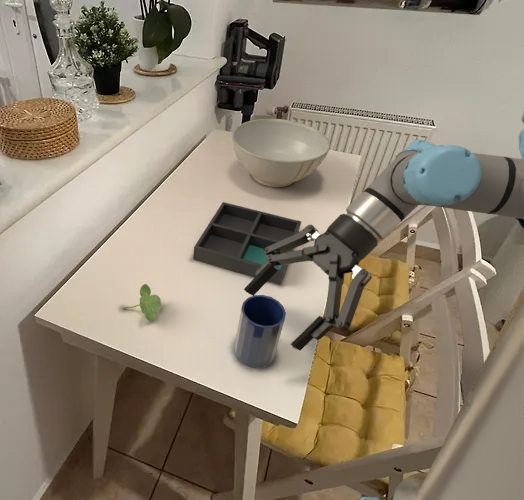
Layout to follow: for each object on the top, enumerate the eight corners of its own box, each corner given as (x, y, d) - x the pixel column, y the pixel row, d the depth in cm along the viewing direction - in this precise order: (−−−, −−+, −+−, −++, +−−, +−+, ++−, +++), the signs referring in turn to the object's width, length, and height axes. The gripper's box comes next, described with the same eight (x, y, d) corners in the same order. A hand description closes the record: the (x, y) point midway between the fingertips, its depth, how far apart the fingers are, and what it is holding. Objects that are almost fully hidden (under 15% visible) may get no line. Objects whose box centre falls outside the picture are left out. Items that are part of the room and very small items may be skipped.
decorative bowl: (327, 204, 116) (338, 164, 108) (227, 197, 117) (232, 157, 110) (312, 157, 136) (321, 121, 128) (228, 152, 138) (232, 115, 130)
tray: (280, 285, 92) (283, 273, 89) (193, 259, 98) (193, 247, 95) (298, 233, 106) (301, 221, 103) (221, 213, 112) (222, 201, 109)
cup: (282, 359, 77) (294, 318, 70) (248, 373, 75) (258, 333, 68) (259, 330, 82) (268, 290, 75) (227, 343, 79) (233, 302, 72)
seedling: (139, 325, 89) (165, 318, 86) (115, 328, 82) (143, 321, 79) (132, 291, 90) (158, 283, 87) (108, 292, 83) (135, 283, 80)
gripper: (431, 282, 64) (328, 378, 68) (318, 198, 81) (242, 279, 85) (420, 266, 58) (309, 371, 63) (302, 179, 75) (221, 267, 80)
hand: (270, 318), depth 74 cm, fingers open, 13 cm apart
